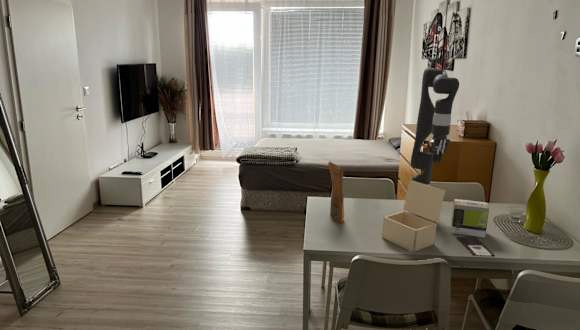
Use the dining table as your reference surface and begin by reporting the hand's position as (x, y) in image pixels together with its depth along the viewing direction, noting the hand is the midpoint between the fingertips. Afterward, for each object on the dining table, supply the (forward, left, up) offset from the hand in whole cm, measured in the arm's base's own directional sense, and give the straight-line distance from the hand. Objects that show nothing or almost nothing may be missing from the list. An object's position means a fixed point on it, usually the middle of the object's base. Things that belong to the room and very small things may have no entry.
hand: (436, 161), depth 192 cm
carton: (+15, 0, -35) cm, 38 cm away
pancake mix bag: (+23, -39, -35) cm, 58 cm away
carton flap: (+7, 0, -17) cm, 19 cm away
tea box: (-18, +9, -35) cm, 41 cm away
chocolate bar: (-6, +20, -36) cm, 41 cm away
